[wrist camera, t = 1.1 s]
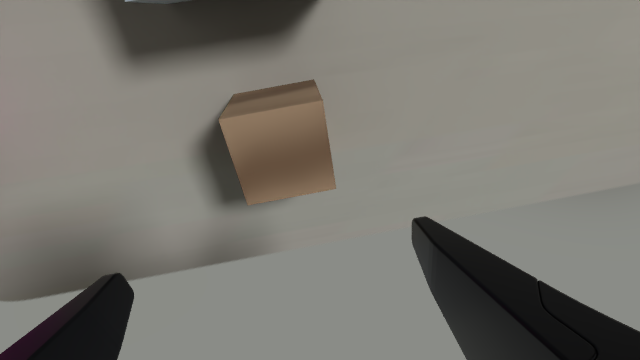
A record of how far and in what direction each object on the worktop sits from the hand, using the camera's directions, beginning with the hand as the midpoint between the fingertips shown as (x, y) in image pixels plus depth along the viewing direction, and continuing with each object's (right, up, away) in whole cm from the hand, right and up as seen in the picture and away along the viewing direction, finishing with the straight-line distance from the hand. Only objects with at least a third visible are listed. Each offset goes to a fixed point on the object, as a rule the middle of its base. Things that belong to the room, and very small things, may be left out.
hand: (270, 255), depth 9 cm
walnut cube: (-1, +6, +10) cm, 12 cm away
